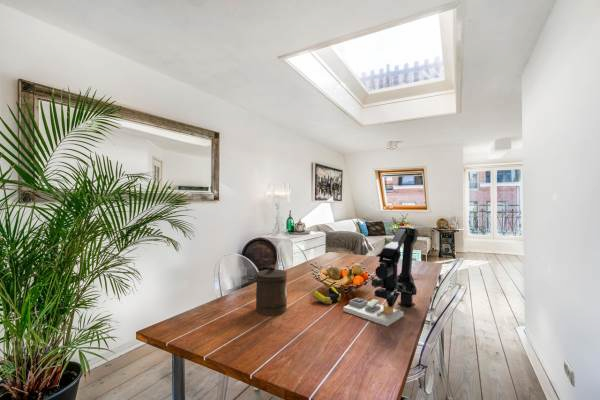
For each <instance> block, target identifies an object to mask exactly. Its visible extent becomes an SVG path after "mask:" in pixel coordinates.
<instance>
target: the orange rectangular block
mask: <svg viewBox="0 0 600 400" xmlns="http://www.w3.org/2000/svg"><path fill="white" fill-rule="evenodd" d="M383 306H384V313H385V314H388V315H390V314H392V313H393V309H394V306H393V307H391V306H388V304H386V305H383Z"/></svg>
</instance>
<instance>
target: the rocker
mask: <svg viewBox="0 0 600 400" xmlns="http://www.w3.org/2000/svg"><path fill="white" fill-rule="evenodd" d="M379 303H380V300H378V299H375V298H372V299H371V300H370V301H369V303H368V304H367V307H370V308H373V307H374V306H375V305H377V304H379Z"/></svg>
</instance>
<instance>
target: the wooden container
mask: <svg viewBox="0 0 600 400" xmlns="http://www.w3.org/2000/svg"><path fill="white" fill-rule="evenodd" d="M267 266H268V267H267V268H268V269H263V270H260V271H257V273H256V290H255V291H256V292H255V293H256V295H255V298H256V300H255V311H256V313H258V314H259V315H261V316H269V317H272V316H279V315H281V314H284V313H285V312H286V311H287V307H288V306H287V301H288V300H287V299H288V297H287V296H288V295H287V291H288V290H287V280H288V279H287V278H288V277H287V275H288V274H287V273H288V272H287V271H286V270H282V269H278V268H277V269H276V266H275V264H270V265H267Z"/></svg>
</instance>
